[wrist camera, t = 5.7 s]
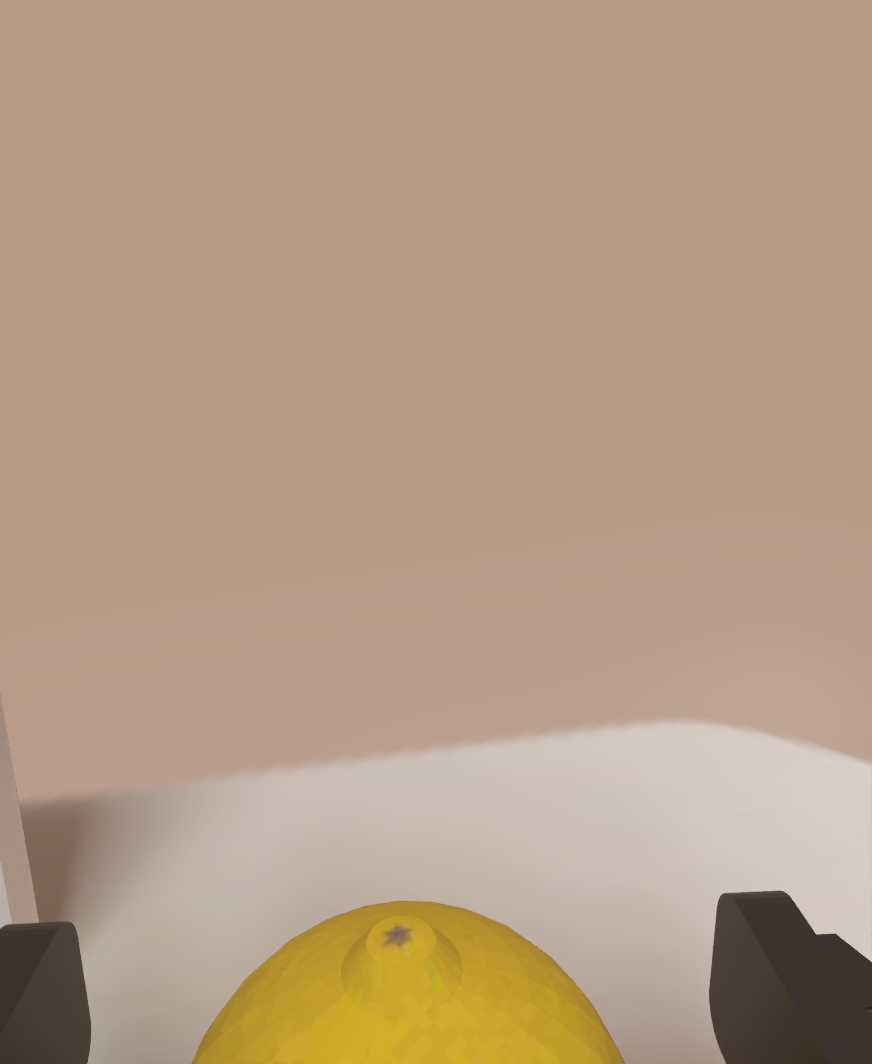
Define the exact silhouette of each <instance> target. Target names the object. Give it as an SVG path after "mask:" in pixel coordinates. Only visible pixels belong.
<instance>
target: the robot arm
mask: <svg viewBox="0 0 872 1064" xmlns="http://www.w3.org/2000/svg"><path fill="white" fill-rule="evenodd" d="M709 1001H710V1011H711V1018H712V1023H713V1028H714V1032H715V1035H716V1039H717V1042H718V1045H719V1048H720V1050H721V1053H722V1055H723V1057H724V1059H725V1062H726V1064H872V962H871V961H869V960H868V959H867V958H866V957H864V956H863V955H862V954H860V953H859V952H858V951H857V950H855V949H854V948H853V947H852V946H850V945H849V944H848V943H847V942H845V941H844V940H843V939H841V938H840V937H839V936H838V935H836V934H820V935H816V934H815V932H814V931H813V929H812V928H811V926H810V925H809V923H808V922H807V920H806V919H805V918H804V916H803V915H802V913H801V912H800V910H799V909H798V907H797V906H796V904H795V903H794V901H793V900H792V899H791V897H790V896H789V895H788V894H787V893H785V892H783V891H763V892H741V893H724V894H722V895H721V896H720V898H719V901H718V905H717V914H716V924H715V935H714V946H713V956H712V967H711V978H710V989H709ZM90 1041H91V1020H90V1013H89V1006H88V1000H87V993H86V987H85V981H84V974H83V968H82V961H81V955H80V949H79V942H78V936H77V932H76V929H75V927H74V925H73V924H72V923H71V922H47V923H25V924H8V925H5V926H3V927H1V928H0V1064H87V1062H88V1056H89V1050H90Z"/></svg>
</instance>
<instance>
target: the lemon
mask: <svg viewBox="0 0 872 1064" xmlns="http://www.w3.org/2000/svg"><path fill="white" fill-rule="evenodd" d="M192 1064H625V1063H624V1061H623V1059H622V1057H621V1055H620V1053H619V1051H618V1049H617V1047H616V1045H615V1043H614V1042H613V1040H612V1038H611V1036H610V1034H609V1033H608V1031H607V1029H606V1027H605V1026H604V1024H603V1022H602V1020H601V1018H600V1017H599V1015H598V1013H597V1011H596V1009H595V1008H594V1006H593V1005H592V1004H591V1002H590V1001H589V1000H588V998H587V997H586V996H585V995H584V993H583V992H582V991H581V989H580V988H579V987H578V986H577V985H576V984H575V983H574V982H573V981H572V980H571V978H570V977H569V976H568V975H567V974H566V973H565V972H564V971H563V970H562V969H561V967H560V966H559V965H558V964H557V963H556V962H555V961H554V960H553V959H552V958H551V957H550V956H549V955H547V954H546V953H545V952H543V951H542V950H541V949H539V948H538V947H536V946H535V945H534V944H532V943H531V942H529V941H528V940H526V939H525V938H523V937H522V936H521V935H519V934H518V933H516V932H515V931H513V930H512V929H510V928H509V927H507V926H506V925H503V924H501V923H498V922H496V921H494V920H491V919H489V918H486V917H484V916H482V915H479V914H477V913H474V912H472V911H469V910H466V909H463V908H458V907H453V906H448V905H444V904H439V903H434V902H416V901H395V902H389V903H382V904H376V905H370V906H364V907H361V908H358V909H355V910H352V911H350V912H347V913H344V914H341V915H338V916H335V917H332V918H330V919H328V920H325V921H323V922H322V923H320V924H318V925H316V926H314V927H313V928H311V929H309V930H307V931H306V932H304V933H302V934H300V935H299V936H297V937H295V938H293V939H291V940H290V941H289V942H287V943H286V944H285V945H284V946H283V947H282V948H281V949H279V950H278V951H277V952H276V953H275V954H274V955H272V956H271V957H270V958H269V959H268V960H267V961H266V962H264V963H263V964H262V965H261V966H260V967H259V968H258V969H256V970H255V971H254V972H253V973H252V974H251V975H250V976H249V977H248V978H246V979H245V980H244V982H243V983H242V984H241V986H240V987H239V988H238V990H237V991H236V992H235V994H234V995H233V996H232V998H231V999H230V1000H229V1002H228V1003H227V1004H226V1006H225V1007H224V1008H223V1010H222V1011H221V1012H220V1013H219V1015H218V1016H217V1018H216V1019H215V1021H214V1022H213V1024H212V1025H211V1027H210V1028H209V1030H208V1031H207V1033H206V1034H205V1036H204V1037H203V1040H202V1042H201V1044H200V1046H199V1049H198V1051H197V1053H196V1055H195V1057H194V1060H193V1062H192Z"/></svg>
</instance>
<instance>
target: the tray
mask: <svg viewBox="0 0 872 1064" xmlns="http://www.w3.org/2000/svg"><path fill="white" fill-rule="evenodd" d="M25 923H39V918H38V913H37V907H36V901H35V895H34V889H33V883H32V877H31V872H30V866H29V860H28V854H27V848H26V842H25V836H24V830H23V825H22V819H21V813H20V807H19V801H18V795H17V789H16V784H15V778H14V772H13V766H12V760H11V755H10V748H9V743H8V737H7V731H6V725H5V719H4V713H3V708H2V701H1V696H0V928H1V927H3V926H5V925H8V924H25Z"/></svg>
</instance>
